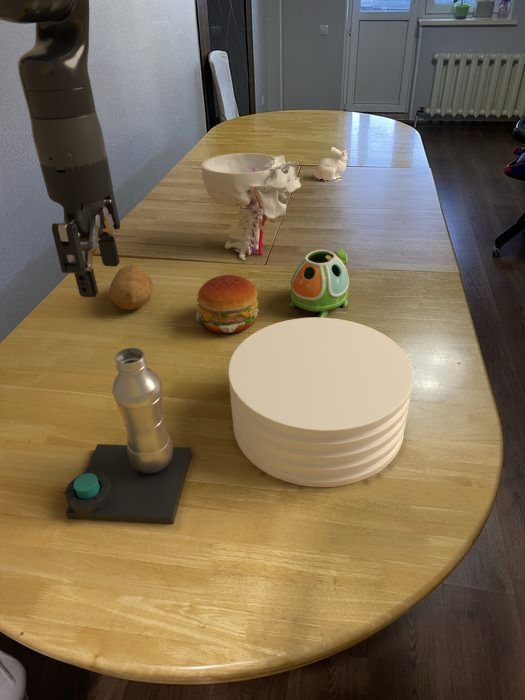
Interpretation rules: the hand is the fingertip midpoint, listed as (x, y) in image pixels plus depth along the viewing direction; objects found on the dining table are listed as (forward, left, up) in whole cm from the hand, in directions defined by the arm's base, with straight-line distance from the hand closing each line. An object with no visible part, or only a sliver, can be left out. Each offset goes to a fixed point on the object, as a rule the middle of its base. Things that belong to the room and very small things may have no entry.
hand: (101, 279), depth 69 cm
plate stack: (+30, +4, -28) cm, 41 cm away
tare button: (-2, -15, -25) cm, 29 cm away
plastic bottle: (+5, -8, -27) cm, 28 cm away
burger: (+11, +34, -28) cm, 45 cm away
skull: (+13, +72, -28) cm, 78 cm away
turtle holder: (+31, +43, -28) cm, 60 cm away
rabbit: (+36, +131, -28) cm, 139 cm away
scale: (+3, -11, -28) cm, 30 cm away
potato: (-12, +41, -28) cm, 51 cm away
